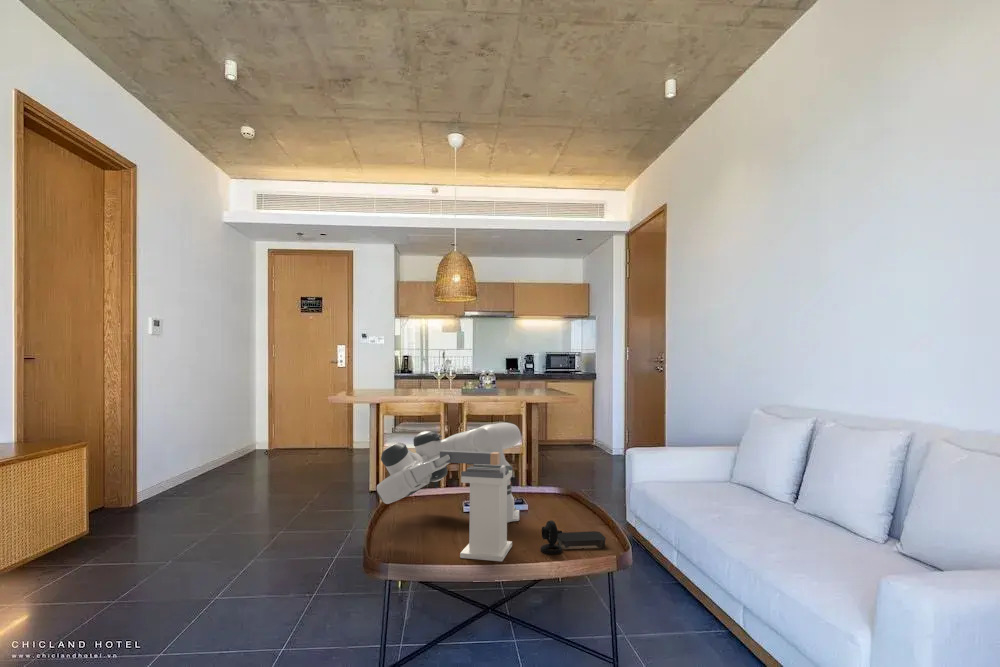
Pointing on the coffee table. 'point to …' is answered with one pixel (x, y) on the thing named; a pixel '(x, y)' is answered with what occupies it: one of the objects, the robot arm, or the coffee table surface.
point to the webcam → (551, 538)
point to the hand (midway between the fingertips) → (452, 455)
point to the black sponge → (581, 540)
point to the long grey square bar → (472, 457)
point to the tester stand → (487, 512)
